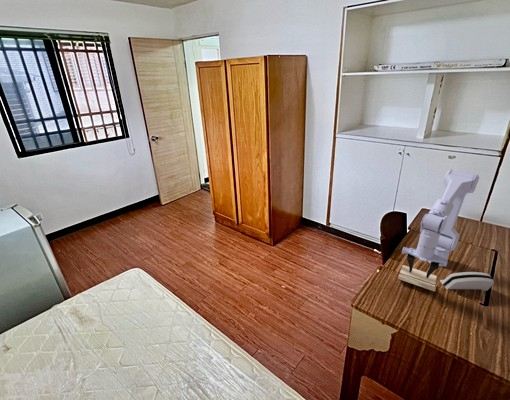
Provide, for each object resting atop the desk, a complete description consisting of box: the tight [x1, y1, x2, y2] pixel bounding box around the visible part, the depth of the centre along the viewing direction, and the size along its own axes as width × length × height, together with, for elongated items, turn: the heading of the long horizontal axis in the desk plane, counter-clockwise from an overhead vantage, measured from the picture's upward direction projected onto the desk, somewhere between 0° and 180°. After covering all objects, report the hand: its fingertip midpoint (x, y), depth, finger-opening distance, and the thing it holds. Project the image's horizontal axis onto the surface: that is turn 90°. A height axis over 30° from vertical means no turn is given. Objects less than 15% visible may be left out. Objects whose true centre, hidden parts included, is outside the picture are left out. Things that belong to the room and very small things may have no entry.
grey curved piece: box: [439, 271, 495, 292], centre depth 107 cm, size 17×5×10 cm, turn 88°
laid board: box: [399, 264, 437, 286], centre depth 116 cm, size 7×13×1 cm, turn 55°
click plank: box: [397, 273, 437, 292], centre depth 110 cm, size 7×13×1 cm, turn 56°
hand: (418, 273), depth 105 cm, fingers open, 5 cm apart
